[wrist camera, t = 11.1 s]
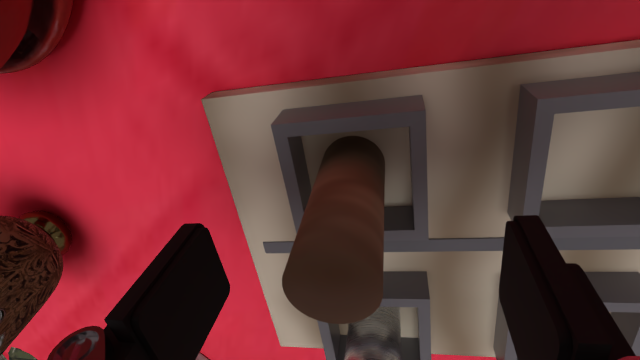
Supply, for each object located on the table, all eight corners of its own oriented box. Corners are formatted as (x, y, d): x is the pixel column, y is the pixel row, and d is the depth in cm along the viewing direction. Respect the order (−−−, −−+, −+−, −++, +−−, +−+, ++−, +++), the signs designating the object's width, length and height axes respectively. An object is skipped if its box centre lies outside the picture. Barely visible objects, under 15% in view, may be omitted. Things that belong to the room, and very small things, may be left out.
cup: (118, 269, 26) (23, 373, 20) (35, 265, 28) (-80, 361, 21) (74, 181, 23) (-63, 270, 16) (-19, 182, 24) (-179, 264, 17)
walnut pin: (382, 132, 16) (378, 248, 10) (387, 189, 18) (386, 325, 11) (318, 138, 17) (271, 251, 10) (327, 192, 18) (292, 322, 12)
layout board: (826, 16, 13) (1531, 88, 5) (673, 347, 21) (839, 569, 13) (211, 92, 18) (74, 183, 10) (285, 331, 27) (240, 482, 19)
